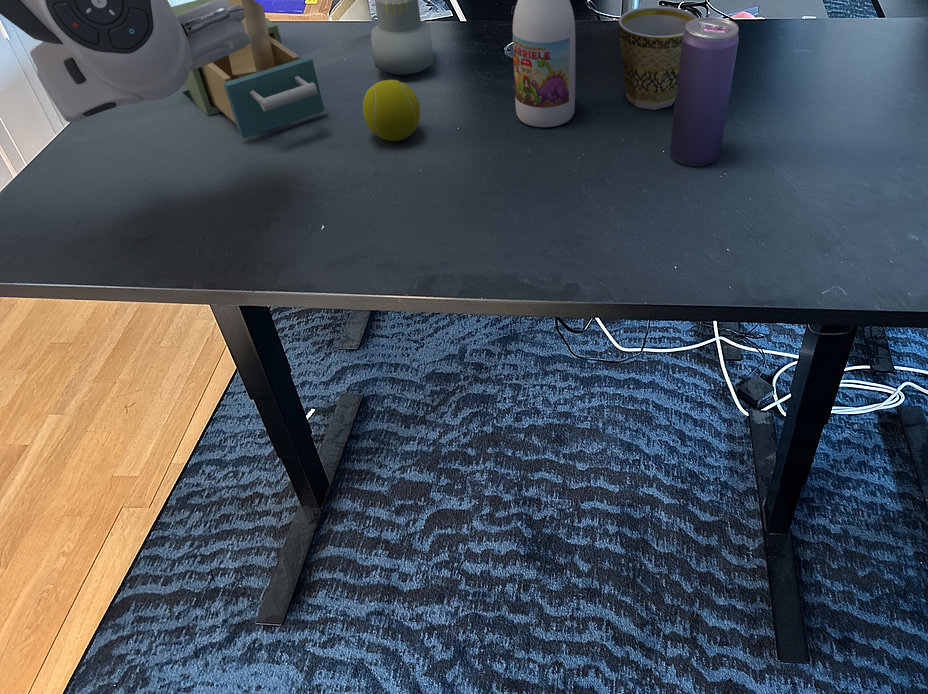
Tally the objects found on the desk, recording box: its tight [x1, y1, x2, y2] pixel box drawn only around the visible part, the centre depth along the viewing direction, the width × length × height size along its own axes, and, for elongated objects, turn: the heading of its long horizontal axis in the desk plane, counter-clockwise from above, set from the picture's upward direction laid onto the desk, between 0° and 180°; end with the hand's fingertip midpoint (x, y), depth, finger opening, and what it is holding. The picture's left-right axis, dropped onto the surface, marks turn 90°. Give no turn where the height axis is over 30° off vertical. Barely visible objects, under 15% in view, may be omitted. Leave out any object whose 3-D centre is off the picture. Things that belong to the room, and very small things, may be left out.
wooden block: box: [226, 0, 275, 77], centre depth 97 cm, size 8×3×9 cm
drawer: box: [198, 36, 325, 139], centre depth 100 cm, size 20×11×7 cm, turn 38°
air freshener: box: [370, 0, 435, 76], centre depth 109 cm, size 11×8×10 cm
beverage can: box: [669, 16, 740, 167], centre depth 88 cm, size 6×6×15 cm
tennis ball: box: [362, 79, 421, 142], centre depth 96 cm, size 7×7×7 cm
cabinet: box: [171, 0, 283, 117], centre depth 108 cm, size 17×13×9 cm
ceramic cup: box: [617, 5, 698, 111], centre depth 101 cm, size 13×10×10 cm
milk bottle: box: [512, 0, 576, 128], centre depth 94 cm, size 8×8×20 cm
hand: (161, 75), depth 84 cm, fingers open, 8 cm apart
